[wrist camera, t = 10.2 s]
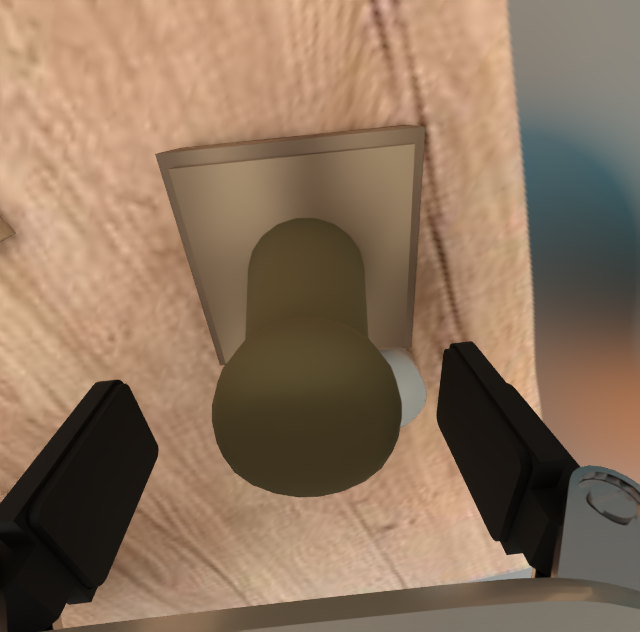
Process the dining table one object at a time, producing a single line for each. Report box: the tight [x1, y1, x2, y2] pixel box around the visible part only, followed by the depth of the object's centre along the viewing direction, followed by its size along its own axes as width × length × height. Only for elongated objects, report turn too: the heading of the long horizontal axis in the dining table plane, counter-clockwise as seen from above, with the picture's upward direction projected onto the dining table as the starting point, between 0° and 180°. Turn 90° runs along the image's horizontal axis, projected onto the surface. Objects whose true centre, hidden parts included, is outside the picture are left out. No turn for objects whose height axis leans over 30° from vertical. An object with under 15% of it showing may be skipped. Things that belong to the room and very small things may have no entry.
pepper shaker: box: [212, 218, 402, 497], centre depth 13 cm, size 6×6×11 cm
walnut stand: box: [155, 125, 425, 365], centre depth 19 cm, size 12×12×4 cm
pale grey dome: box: [379, 348, 426, 428], centre depth 25 cm, size 7×7×3 cm
